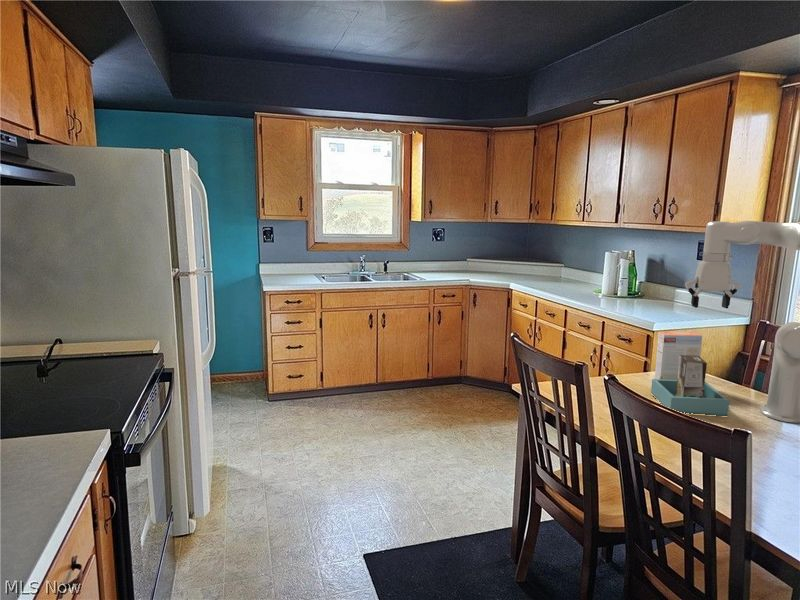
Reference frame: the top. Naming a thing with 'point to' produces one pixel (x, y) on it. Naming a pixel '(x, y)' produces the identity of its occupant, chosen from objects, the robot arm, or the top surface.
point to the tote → (690, 399)
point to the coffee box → (691, 376)
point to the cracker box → (675, 352)
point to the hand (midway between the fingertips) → (709, 307)
